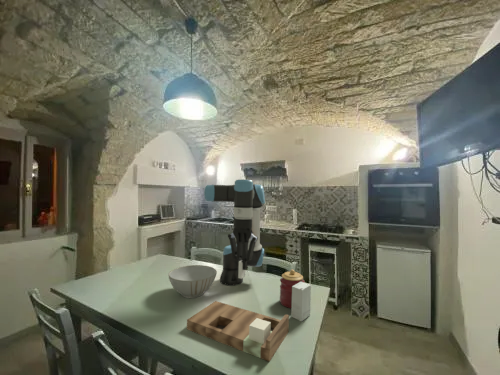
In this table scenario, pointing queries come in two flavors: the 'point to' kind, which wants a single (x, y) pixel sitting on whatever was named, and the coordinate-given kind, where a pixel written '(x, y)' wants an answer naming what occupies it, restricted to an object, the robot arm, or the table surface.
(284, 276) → the canister
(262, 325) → the block
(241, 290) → the table surface
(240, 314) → the board
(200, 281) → the decorative bowl
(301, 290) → the skincare box
